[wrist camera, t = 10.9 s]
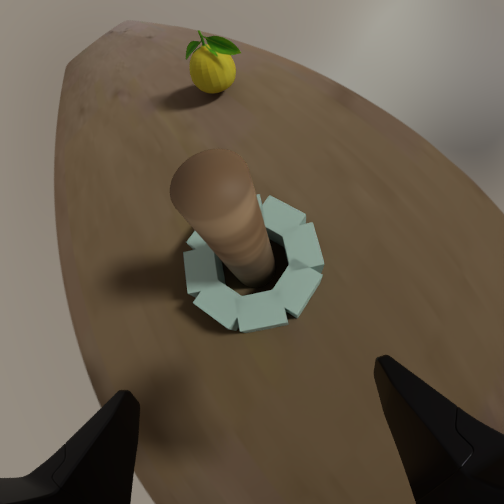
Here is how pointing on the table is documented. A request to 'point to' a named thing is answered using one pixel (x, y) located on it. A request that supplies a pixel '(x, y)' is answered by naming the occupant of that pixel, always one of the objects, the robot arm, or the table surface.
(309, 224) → the ring
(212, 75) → the lemon
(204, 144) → the table surface
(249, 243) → the dowel
